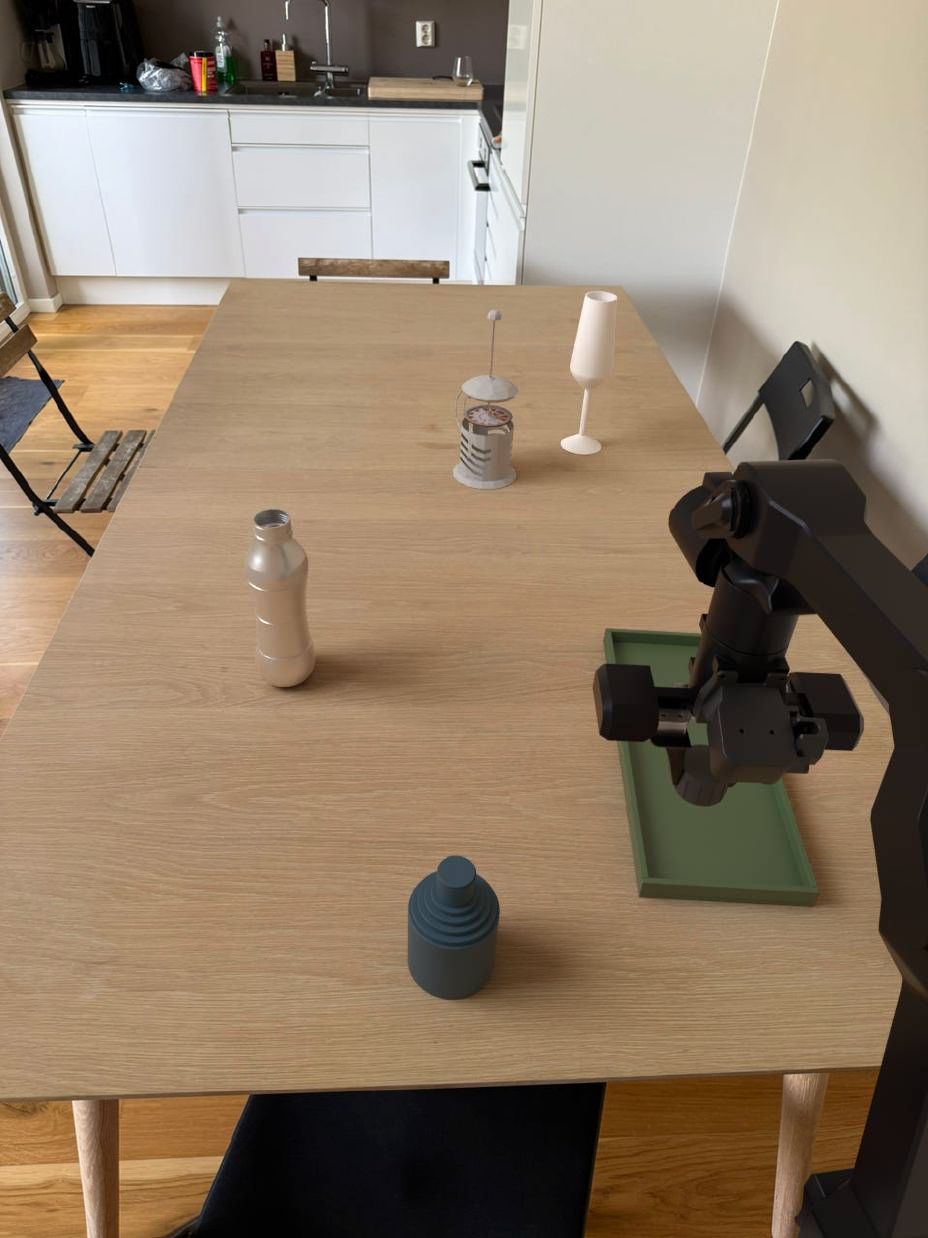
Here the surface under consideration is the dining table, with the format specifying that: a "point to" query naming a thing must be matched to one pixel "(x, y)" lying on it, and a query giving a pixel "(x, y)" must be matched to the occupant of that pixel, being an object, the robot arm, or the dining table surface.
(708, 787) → the flask cap
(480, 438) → the french press
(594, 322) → the champagne flute
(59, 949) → the dining table surface
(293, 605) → the plastic bottle
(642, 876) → the tray
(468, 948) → the flask
